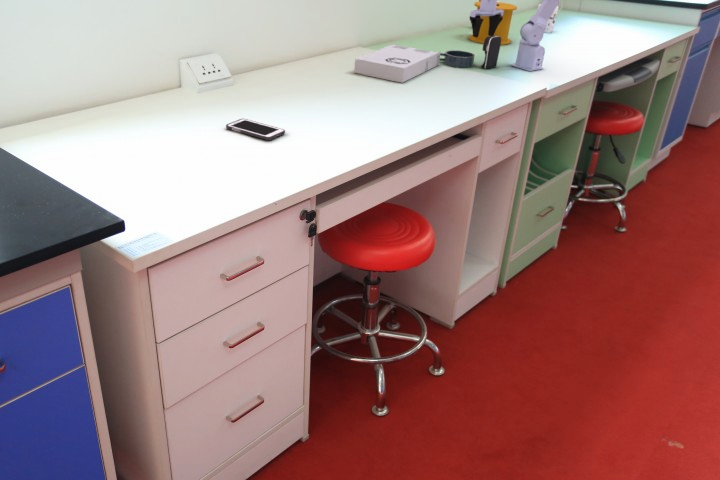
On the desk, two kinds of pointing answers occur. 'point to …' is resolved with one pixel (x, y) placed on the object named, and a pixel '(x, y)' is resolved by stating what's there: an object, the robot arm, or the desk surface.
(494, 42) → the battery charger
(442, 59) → the gray segmented ring
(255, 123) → the cell phone
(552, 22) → the ink box
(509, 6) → the spool
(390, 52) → the power supply unit
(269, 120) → the desk surface
